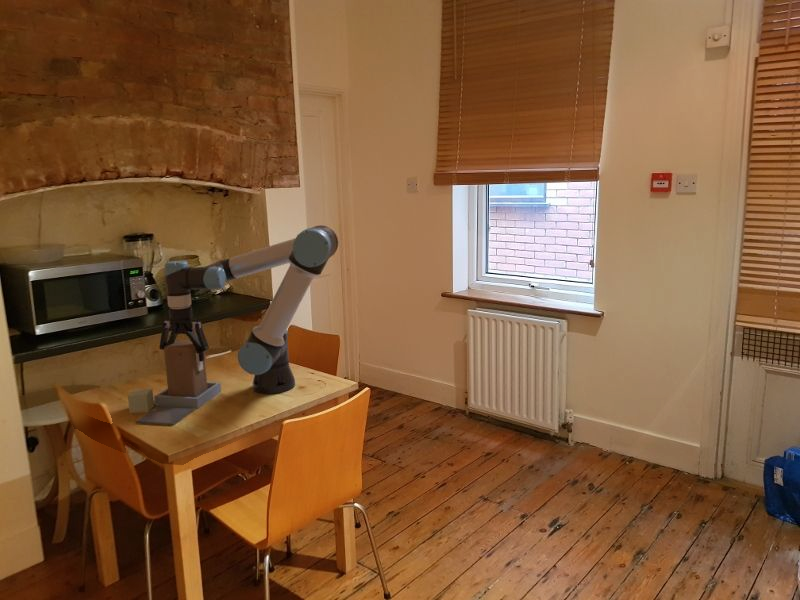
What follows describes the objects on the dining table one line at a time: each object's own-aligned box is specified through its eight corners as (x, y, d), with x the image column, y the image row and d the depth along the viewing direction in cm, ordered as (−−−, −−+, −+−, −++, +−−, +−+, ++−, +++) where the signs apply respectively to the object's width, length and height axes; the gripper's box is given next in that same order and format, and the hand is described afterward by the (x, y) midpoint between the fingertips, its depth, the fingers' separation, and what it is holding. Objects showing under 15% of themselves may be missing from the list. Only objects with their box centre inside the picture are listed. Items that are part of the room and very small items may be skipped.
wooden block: (194, 404, 209) (189, 348, 205) (168, 403, 211) (162, 347, 207) (209, 394, 219) (204, 340, 215) (183, 393, 221) (178, 339, 217)
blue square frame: (221, 391, 221) (220, 382, 221) (198, 408, 206) (197, 398, 205) (180, 389, 224) (179, 380, 224) (155, 405, 209) (154, 396, 208)
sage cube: (154, 405, 210) (152, 388, 209) (148, 412, 204) (146, 395, 203) (136, 406, 210) (134, 389, 208) (129, 412, 204) (127, 395, 203)
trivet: (194, 410, 205) (194, 407, 204) (172, 425, 192) (172, 423, 192) (159, 408, 207) (159, 405, 207) (135, 423, 195) (135, 420, 195)
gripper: (216, 304, 210) (221, 367, 214) (156, 303, 214) (162, 364, 219) (205, 309, 203) (210, 374, 207) (143, 308, 207) (150, 371, 212)
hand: (186, 369), depth 213 cm, fingers closed on wooden block, 10 cm apart
